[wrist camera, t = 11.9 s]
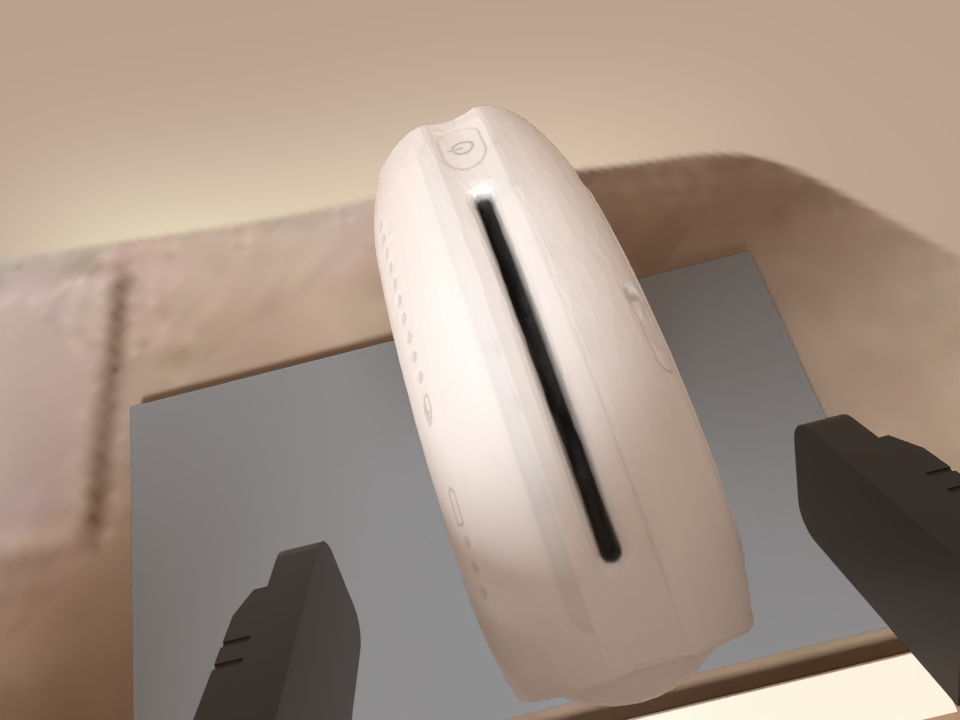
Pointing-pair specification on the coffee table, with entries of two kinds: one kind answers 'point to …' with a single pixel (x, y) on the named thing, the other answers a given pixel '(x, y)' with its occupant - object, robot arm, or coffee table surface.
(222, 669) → the robot arm
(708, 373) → the mat
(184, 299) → the coffee table surface
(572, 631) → the photo printer
